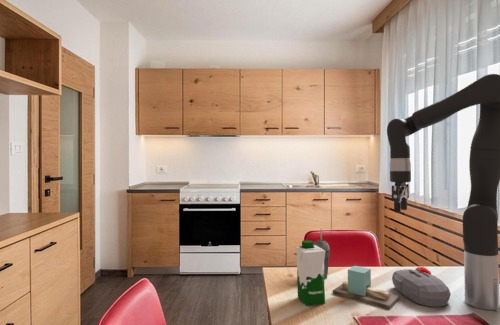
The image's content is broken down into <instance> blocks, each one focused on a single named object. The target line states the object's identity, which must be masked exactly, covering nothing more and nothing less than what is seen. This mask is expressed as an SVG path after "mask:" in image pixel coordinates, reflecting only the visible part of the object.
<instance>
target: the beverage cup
mask: <svg viewBox="0 0 500 325" xmlns="http://www.w3.org/2000/svg"><path fill="white" fill-rule="evenodd" d="M322 231H323V229H322V228H320V231H319V232H320V239H318V240H316V241H315V242H313V243H314V245H316V246H318V247H320V248H322V249H323V250H325V251H326V252H325V258H324V281H325V280H327V279H328V275H329V274H328V272H329V258H330V253H331V249H330V245H329V243H328V242H327V241H326V240H324V239H323V236H322V235H323V232H322Z"/></svg>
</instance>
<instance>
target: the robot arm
mask: <svg viewBox="0 0 500 325" xmlns="http://www.w3.org/2000/svg"><path fill="white" fill-rule="evenodd" d="M478 105H479V118H478V124H477V126H476V128H475V131H474V135H473V136H472V140H471V144H470V147H469V148H470V150H469V166H468V167H469V179H470V193H469V199H468V203H467V206H466V209H465V210H464V211H463V214H462V242H463V252H464V253H463V257H464V258H463V259H464V260H463V261H464V262H463V265H464V266H463V268H464V302H465V303H466V304H468V305H469V306H471V307H474V308H477V309H481V310H488V311H496V312H498V311H499V309H500V276H499V242H498V240H499V238H498V237H499V236H498V234H499V232H498V231H499V230H498V229H499V228H498V227H499V226H498V224H499V223H498V221H499V213H498V189H499V185H500V74H497V73H490V74H486V75H484V76H481V77H480V78H478V79H476V80H475V81H473V82H471V83H470V84H468V85H467V86H465V87H464V88H462V89H460V90H459V91H457V92H455V93H453V94H451V95H449V96H448V97H445V98H443V99H440V100H439V101H436V102H434V103H432V104H429V105H427V106H424V107H422V108H421V109H418V110H416V111H414V112H412V115H411V116H408V117H406V118H403V119H402V118H393V119H391V120H390V121H389V122H388V124H387V127H386V134H387V140H388V144H389V149H390V150H389V151H390V152H389V154H390V159H389V181H390V182H391V183H394V185H391V202H393V211H394V213H401V210H402V211H407V210H408V201H409V199H410V190H409V189H410V188H409V186H410V185H409V183H411V181H412V166H411V165H412V164H411V148H410V145H409V143H407V138H406V137H409V136H411V135H414V134H415V133H417V132H419V131H421V130H423V129H425V128H429V127H431V126H433V125H435V124H437V123H440V122H442V121H444V120H446V119H448V118H450V117H451V116H453V115H455V114H456V113H458V112H460V111H462V110H465V109H468V108H470V107H472V106H478Z"/></svg>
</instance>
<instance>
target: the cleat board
mask: <svg viewBox="0 0 500 325" xmlns="http://www.w3.org/2000/svg"><path fill="white" fill-rule="evenodd" d="M332 294H333V295H336V296H340V297H344V298H347V299H351V300H355V301H358V302H361V303H365V304H369V305H372V306H375V307H376V306H377V307H380V308H383V309H386V310H391V309H392V308H393V307H394V306H395V305H396V303H397V302H398V301H400V295H397V294H394V293H390V291H387V290H383V289H378V288H374V287H371V288H370V287H366V296H361V295H357V294H354V293H350V292H348V281H343V282H342V284H340V285H338V286H337V287H335V288H333V289H332Z"/></svg>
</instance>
